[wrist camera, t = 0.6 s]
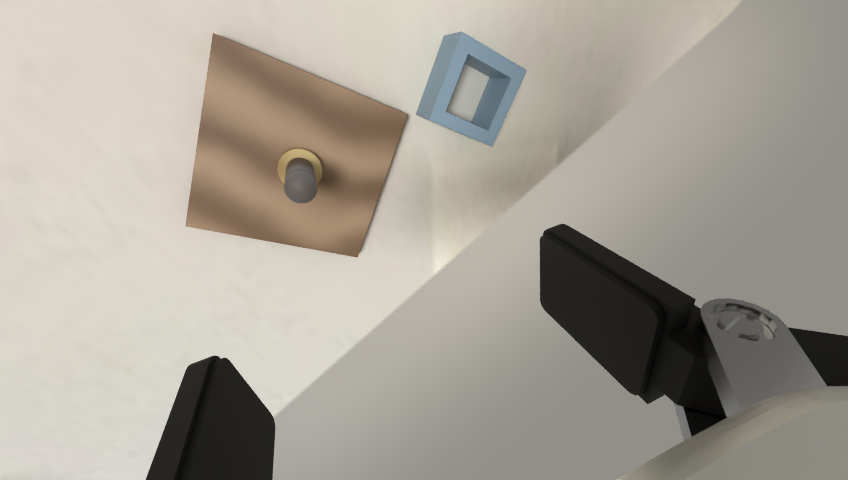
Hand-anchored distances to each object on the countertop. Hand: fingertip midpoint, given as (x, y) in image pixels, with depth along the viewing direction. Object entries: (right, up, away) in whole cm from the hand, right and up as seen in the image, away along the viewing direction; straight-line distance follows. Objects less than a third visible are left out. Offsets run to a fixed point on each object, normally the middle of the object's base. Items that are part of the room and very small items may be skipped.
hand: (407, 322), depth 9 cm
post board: (-11, +10, +22) cm, 26 cm away
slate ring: (+4, +18, +24) cm, 30 cm away
